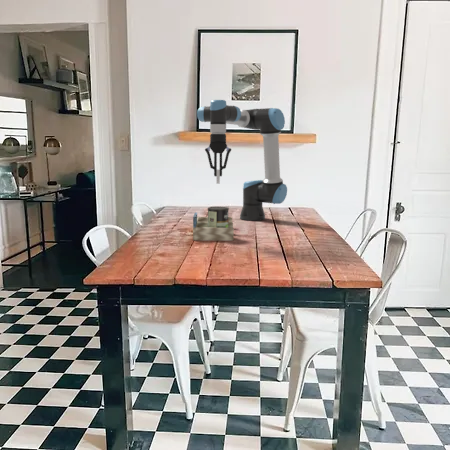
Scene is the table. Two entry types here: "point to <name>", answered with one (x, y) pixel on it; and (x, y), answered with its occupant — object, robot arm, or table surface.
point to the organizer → (211, 230)
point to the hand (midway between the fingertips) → (218, 183)
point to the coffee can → (218, 217)
